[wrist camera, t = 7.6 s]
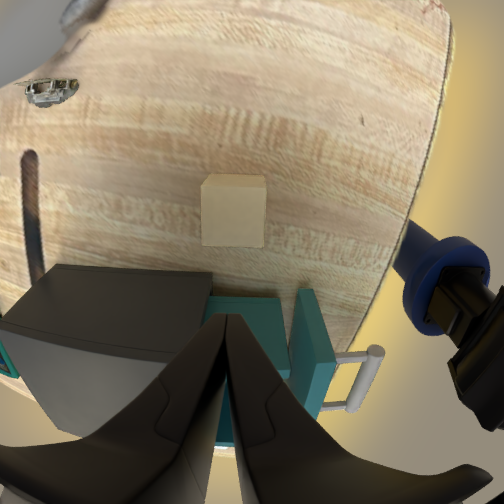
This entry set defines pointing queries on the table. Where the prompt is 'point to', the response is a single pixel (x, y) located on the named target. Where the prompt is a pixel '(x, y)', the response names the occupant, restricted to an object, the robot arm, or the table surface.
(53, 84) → the small metal piece
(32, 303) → the drawer cabinet
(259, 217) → the block
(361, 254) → the table surface
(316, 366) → the teal drawer
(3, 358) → the digital multimeter
